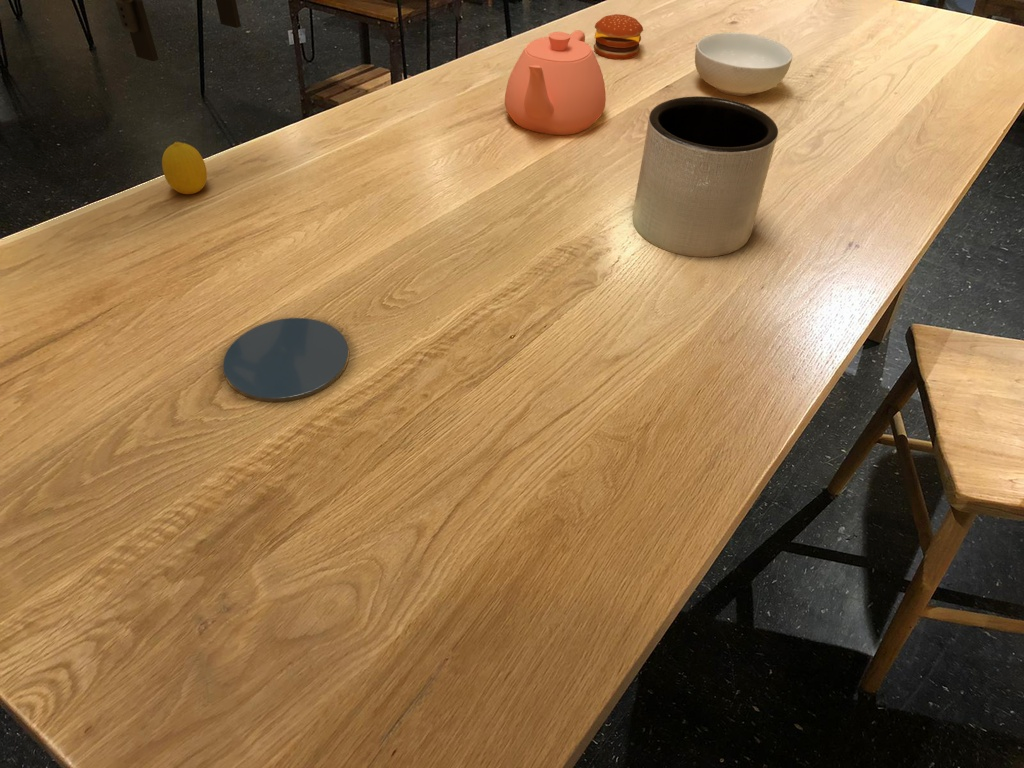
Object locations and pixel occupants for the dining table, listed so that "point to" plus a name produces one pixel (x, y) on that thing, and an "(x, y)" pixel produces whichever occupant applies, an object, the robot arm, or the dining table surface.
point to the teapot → (556, 85)
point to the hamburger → (617, 36)
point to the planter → (702, 175)
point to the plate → (286, 360)
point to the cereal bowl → (741, 62)
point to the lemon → (184, 168)
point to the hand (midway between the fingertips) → (191, 41)
